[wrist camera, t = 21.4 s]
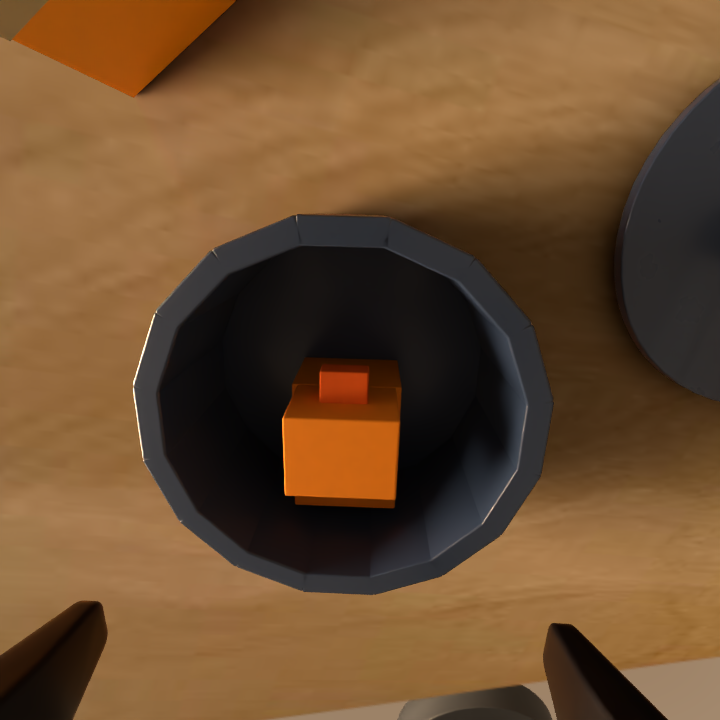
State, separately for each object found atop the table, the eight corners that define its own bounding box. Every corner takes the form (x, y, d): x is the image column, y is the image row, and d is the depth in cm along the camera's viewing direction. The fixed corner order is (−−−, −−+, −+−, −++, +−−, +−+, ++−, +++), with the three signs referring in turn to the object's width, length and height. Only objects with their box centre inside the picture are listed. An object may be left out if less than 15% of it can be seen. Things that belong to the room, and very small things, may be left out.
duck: (392, 465, 21) (398, 561, 15) (306, 462, 21) (280, 556, 15) (398, 335, 19) (409, 388, 13) (304, 332, 19) (273, 383, 13)
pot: (478, 491, 22) (519, 602, 15) (220, 480, 22) (159, 585, 16) (512, 218, 18) (587, 222, 12) (197, 210, 18) (105, 208, 12)
